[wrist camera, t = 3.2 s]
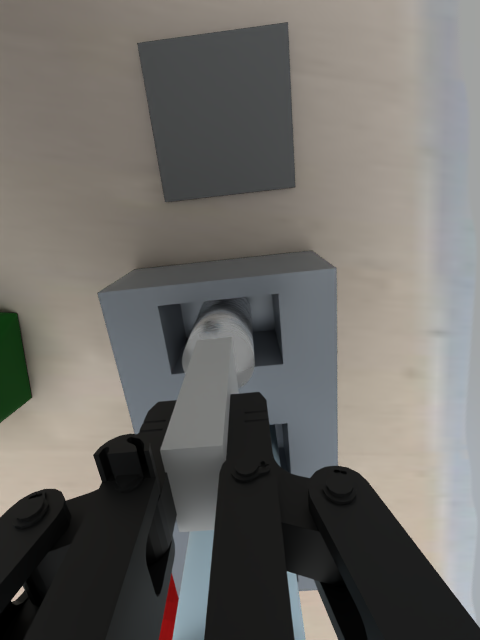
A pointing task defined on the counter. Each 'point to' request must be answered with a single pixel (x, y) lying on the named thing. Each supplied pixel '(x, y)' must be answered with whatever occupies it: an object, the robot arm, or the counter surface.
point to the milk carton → (12, 367)
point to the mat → (221, 111)
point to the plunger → (226, 333)
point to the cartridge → (198, 575)
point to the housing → (268, 339)
